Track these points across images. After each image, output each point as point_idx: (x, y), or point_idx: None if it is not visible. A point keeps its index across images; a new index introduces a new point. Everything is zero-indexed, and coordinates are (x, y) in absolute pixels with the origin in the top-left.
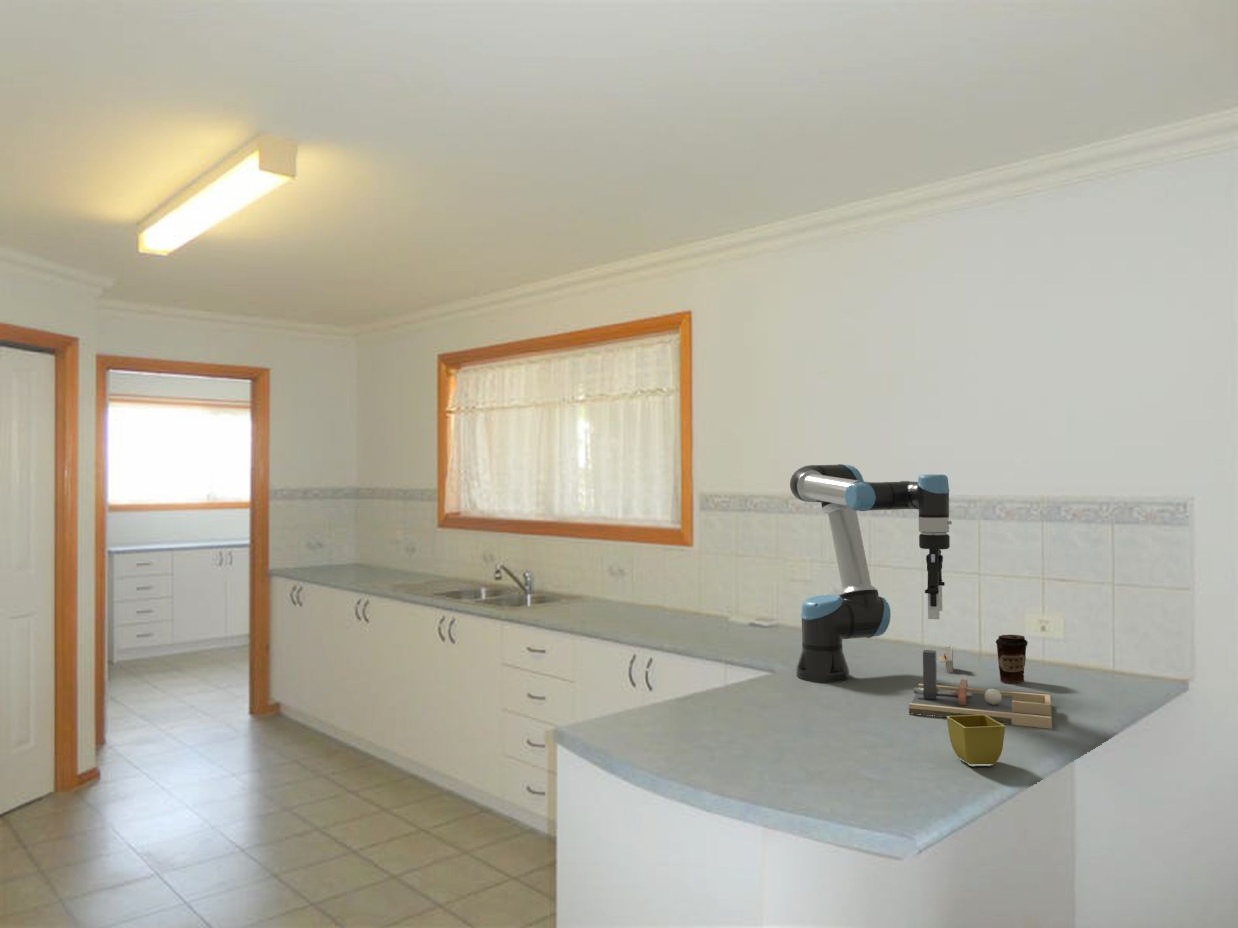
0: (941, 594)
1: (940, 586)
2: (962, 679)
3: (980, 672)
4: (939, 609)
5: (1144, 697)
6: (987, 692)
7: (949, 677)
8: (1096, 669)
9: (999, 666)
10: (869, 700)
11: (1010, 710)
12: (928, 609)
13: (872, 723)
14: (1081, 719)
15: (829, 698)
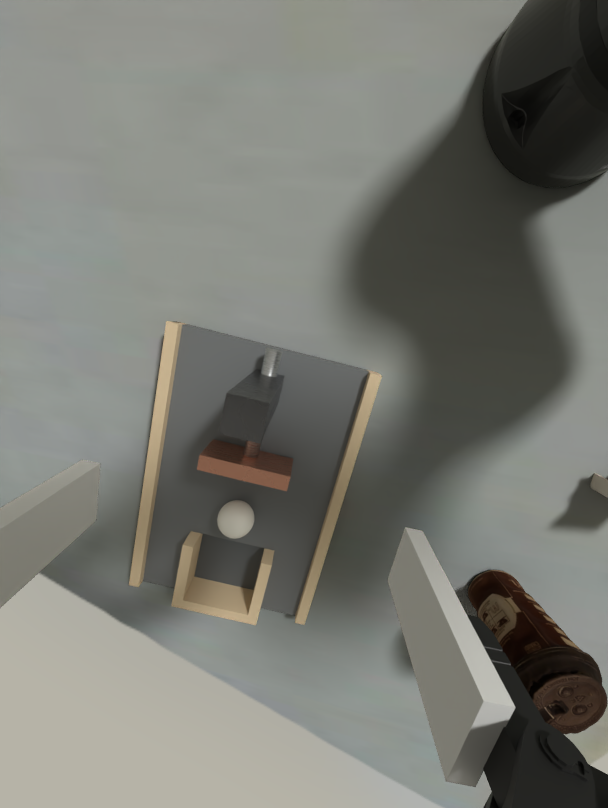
0: (421, 684)
1: (461, 772)
2: (288, 479)
3: (585, 547)
4: (394, 572)
5: (375, 753)
6: (226, 513)
7: (537, 470)
8: (594, 753)
9: (509, 594)
10: (286, 232)
11: (200, 530)
12: (34, 491)
13: (75, 220)
14: (211, 628)
15: (291, 108)
